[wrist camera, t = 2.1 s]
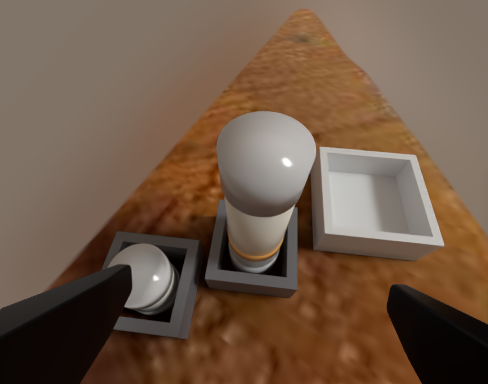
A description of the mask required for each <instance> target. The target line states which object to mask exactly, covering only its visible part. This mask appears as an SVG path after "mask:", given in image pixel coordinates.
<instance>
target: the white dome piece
mask: <svg viewBox="0 0 488 384" xmlns="http://www.w3.org/2000/svg"><path fill="white" fill-rule="evenodd" d="M117 264H127V265H130V266H131V269H132V292H131V294H130V296H129V298H128V300H127V302H126V304H125V306H124V307H126V308H129V309H133V310H135V311H137V312H140V313H142V314H145V315H149V316H157V315H161V314H164V313H166V312H167V311H169V310H170V309H171V308H172V307H173V306H174V303H175V299H176V295H177V291H178V286H179V282H180V278H181V275H180V273H179V272H178V270H177V269H176V268H175V267H174V266H173V265H172V264H171V263H170V261H169V259H168V258H167V257H166V256H165V254H164V253H163V252H162V251H161V250H160V249H159V248H157V247H156V246H154V245H151V244H143V243H142V244H135V245H132V246H129V247H127V248H125V249H124V250H122V251H121V252H119V253H118V254H117V255H116V256H115V257H114V258H113V260H112V261H111V262H110V264H109V266H108V268H109V267H112V266H114V265H117Z"/></svg>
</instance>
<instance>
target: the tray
mask: <svg viewBox="0 0 488 384" xmlns="http://www.w3.org/2000/svg"><path fill="white" fill-rule="evenodd" d="M311 197H312V228H313V250H319V251H328V252H337V253H347V254H356V255H365V256H374V257H383V258H392V259H401V260H410V261H416V260H418V259H420V258H422V257H424V256H426V255H428V254H430V253H432V252H434V251H436V250H438V249H440V248H442V247H444V242H443V239H442V236H441V233H440V230H439V227H438V224H437V220H436V217H435V214H434V211H433V208H432V205H431V202H430V198H429V195H428V192H427V189H426V186H425V183H424V180H423V176H422V173H421V170H420V167H419V164H418V161H417V158H416V155H408V154H396V153H385V152H374V151H362V150H351V149H340V148H329V147H319V150H318V153H317V155H316V158H315V160H314V163H313V166H312V168H311Z"/></svg>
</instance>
